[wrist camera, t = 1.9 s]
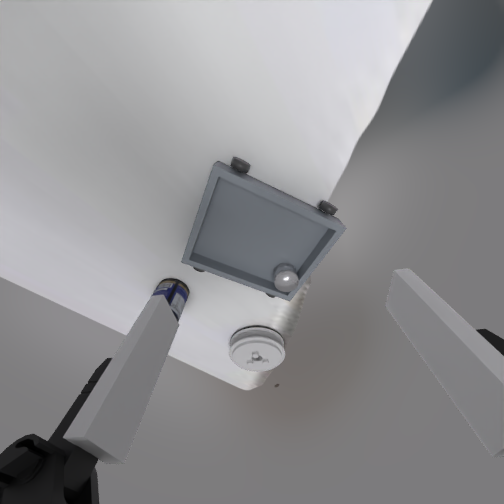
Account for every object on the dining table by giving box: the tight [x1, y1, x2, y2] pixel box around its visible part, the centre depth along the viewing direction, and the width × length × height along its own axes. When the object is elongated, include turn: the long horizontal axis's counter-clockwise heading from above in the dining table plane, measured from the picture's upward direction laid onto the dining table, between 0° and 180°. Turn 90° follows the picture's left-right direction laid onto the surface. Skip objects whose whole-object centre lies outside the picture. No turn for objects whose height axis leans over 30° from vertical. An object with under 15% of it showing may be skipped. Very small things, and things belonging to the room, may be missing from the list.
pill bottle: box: [152, 279, 189, 322], centre depth 36 cm, size 6×6×11 cm
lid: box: [229, 327, 285, 372], centre depth 47 cm, size 13×13×5 cm
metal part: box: [273, 263, 299, 292], centre depth 35 cm, size 4×4×3 cm
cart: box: [181, 157, 346, 301], centre depth 32 cm, size 20×19×4 cm
